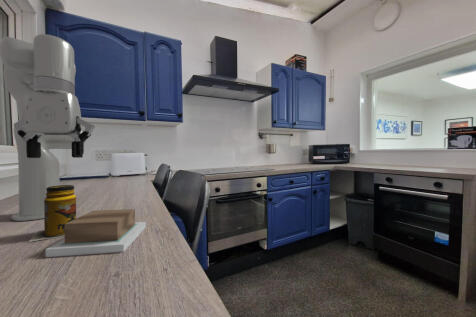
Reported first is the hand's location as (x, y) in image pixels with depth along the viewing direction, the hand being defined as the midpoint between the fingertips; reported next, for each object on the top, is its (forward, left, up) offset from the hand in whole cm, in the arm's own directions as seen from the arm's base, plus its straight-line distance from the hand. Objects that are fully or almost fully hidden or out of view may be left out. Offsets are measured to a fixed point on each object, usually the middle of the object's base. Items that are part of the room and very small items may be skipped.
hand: (56, 157), depth 49 cm
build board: (+6, +14, -19) cm, 24 cm away
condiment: (0, 0, -19) cm, 19 cm away
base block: (+6, +14, -18) cm, 23 cm away
